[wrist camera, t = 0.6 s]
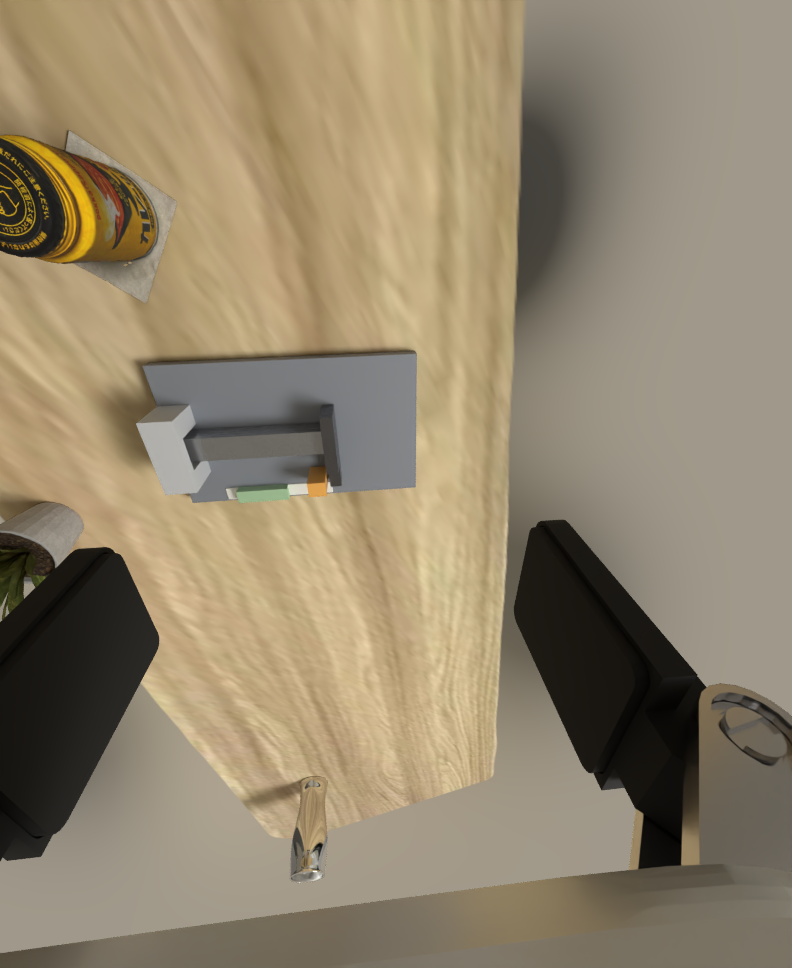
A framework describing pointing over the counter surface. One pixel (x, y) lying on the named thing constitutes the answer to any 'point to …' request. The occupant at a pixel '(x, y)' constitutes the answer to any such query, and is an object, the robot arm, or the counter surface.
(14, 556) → the house plant
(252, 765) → the counter surface
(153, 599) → the counter surface
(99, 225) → the condiment
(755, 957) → the robot arm
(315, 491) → the orange block
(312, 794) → the beer glass
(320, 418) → the plunger
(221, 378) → the board
